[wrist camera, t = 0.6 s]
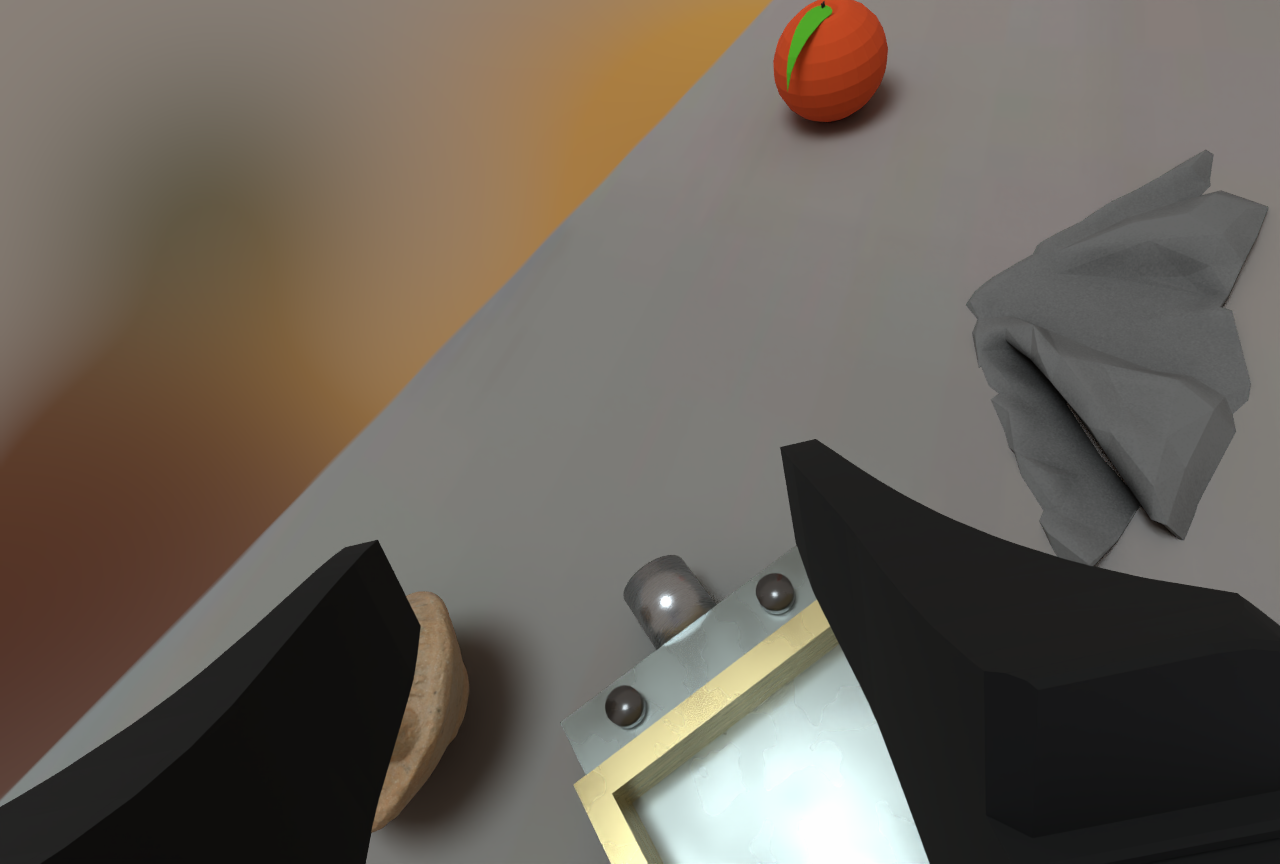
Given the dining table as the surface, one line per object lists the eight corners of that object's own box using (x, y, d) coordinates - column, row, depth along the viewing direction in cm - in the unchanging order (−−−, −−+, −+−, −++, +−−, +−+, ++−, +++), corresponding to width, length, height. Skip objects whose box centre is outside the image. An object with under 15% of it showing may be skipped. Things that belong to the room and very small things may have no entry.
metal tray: (1262, 1050, 19) (1337, 1073, 15) (906, 1367, 18) (899, 1468, 14) (773, 515, 32) (753, 462, 29) (554, 677, 31) (506, 643, 28)
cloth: (1092, 140, 39) (1099, 103, 38) (1427, 192, 31) (1456, 148, 30) (824, 492, 33) (817, 466, 31) (1163, 673, 25) (1180, 652, 23)
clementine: (847, 162, 44) (834, 51, 39) (754, 147, 48) (731, 44, 43) (910, 84, 46) (907, -31, 41) (817, 76, 50) (802, -30, 45)
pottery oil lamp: (413, 562, 37) (324, 496, 32) (565, 697, 30) (485, 643, 25) (287, 703, 35) (167, 658, 29) (422, 886, 28) (298, 871, 23)
